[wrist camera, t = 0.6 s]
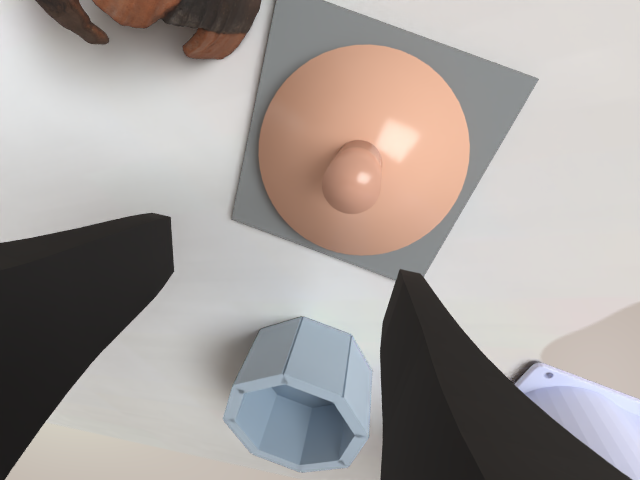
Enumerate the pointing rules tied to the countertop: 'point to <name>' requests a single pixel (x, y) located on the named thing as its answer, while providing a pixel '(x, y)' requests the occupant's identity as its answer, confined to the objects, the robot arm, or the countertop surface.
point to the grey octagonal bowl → (302, 397)
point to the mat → (450, 63)
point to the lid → (364, 150)
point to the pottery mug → (166, 20)
